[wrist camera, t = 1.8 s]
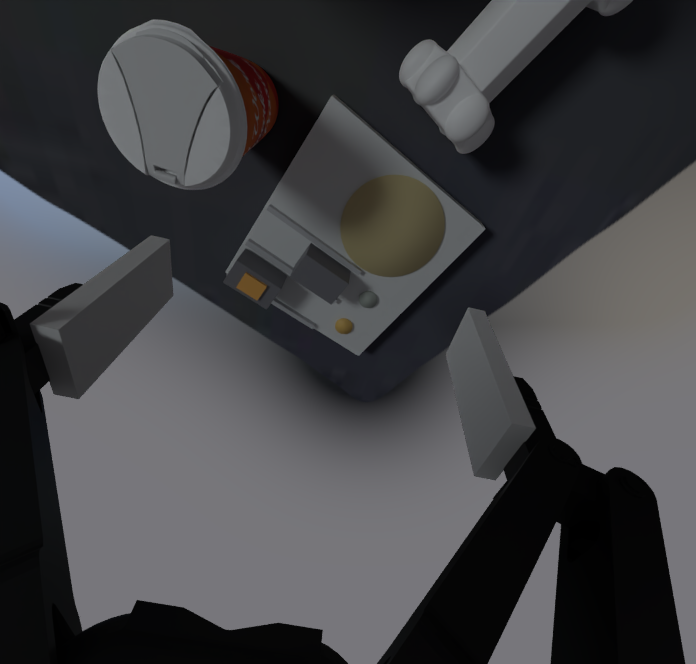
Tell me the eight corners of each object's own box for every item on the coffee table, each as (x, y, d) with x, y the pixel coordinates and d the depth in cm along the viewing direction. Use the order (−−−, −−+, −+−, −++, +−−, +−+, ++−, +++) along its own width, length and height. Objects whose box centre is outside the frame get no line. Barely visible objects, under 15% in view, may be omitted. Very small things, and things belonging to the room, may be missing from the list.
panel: (231, 264, 42) (215, 285, 38) (334, 94, 32) (327, 97, 28) (359, 346, 47) (357, 372, 43) (481, 221, 37) (493, 240, 33)
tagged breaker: (232, 269, 39) (221, 283, 37) (245, 248, 38) (235, 261, 35) (273, 295, 41) (265, 310, 38) (287, 275, 39) (280, 290, 37)
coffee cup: (282, 164, 35) (231, 213, 23) (195, 136, 35) (94, 171, 22) (301, 59, 31) (249, 50, 18) (201, 23, 30) (76, -11, 18)
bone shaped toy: (561, -124, 25) (620, -215, 18) (629, -9, 27) (704, -49, 20) (394, 77, 32) (390, 68, 25) (459, 155, 34) (472, 167, 27)
